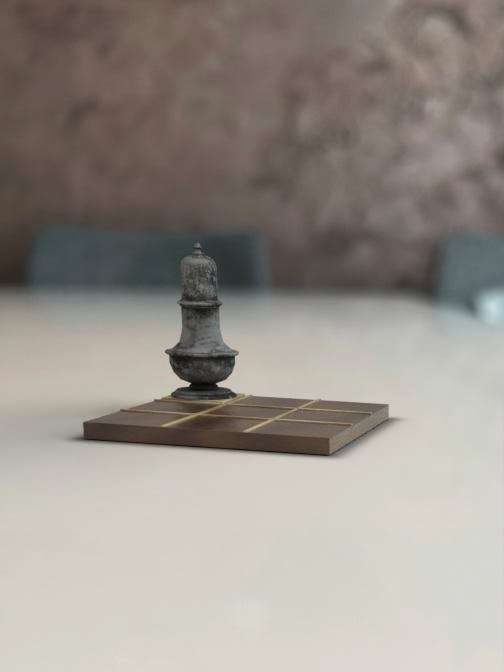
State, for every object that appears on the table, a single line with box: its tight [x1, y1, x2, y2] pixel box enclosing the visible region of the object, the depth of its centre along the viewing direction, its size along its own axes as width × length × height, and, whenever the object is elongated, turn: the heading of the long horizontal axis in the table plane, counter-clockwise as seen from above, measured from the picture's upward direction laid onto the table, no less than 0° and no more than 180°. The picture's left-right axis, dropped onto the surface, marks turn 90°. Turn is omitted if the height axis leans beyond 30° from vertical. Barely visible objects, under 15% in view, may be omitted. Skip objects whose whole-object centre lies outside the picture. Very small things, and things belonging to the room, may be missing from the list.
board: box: [82, 392, 390, 456], centre depth 85 cm, size 18×18×1 cm
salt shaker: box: [164, 241, 240, 400], centre depth 89 cm, size 6×6×12 cm
